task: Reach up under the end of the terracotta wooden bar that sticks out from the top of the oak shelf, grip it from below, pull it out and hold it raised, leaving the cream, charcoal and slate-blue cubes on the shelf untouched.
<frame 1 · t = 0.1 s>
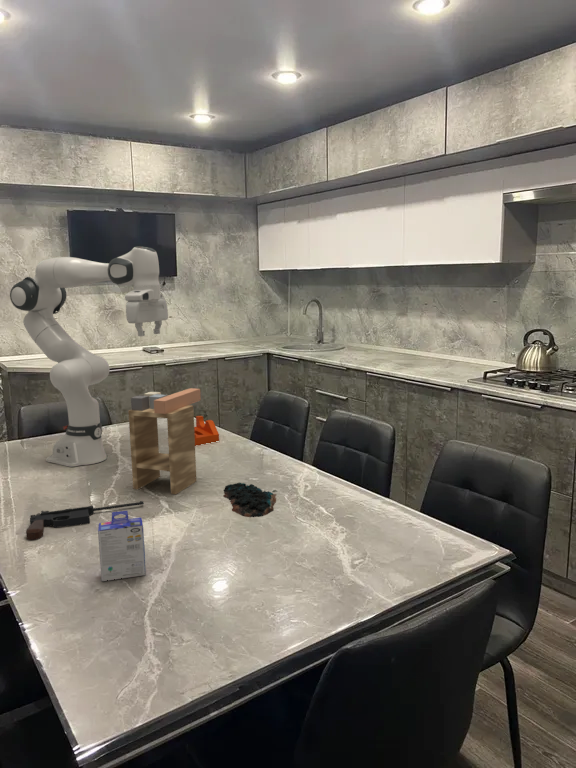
hand: (149, 335, 206), 48 cm above the table, tool pointing down, fingers open, 8 cm apart
slate cube: (158, 407, 191), point 26 cm above the table, touching oak shelf
ink cartridge box: (124, 574, 136), on the table
mineral specimen: (254, 501, 182), on the table
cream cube: (153, 404, 196), point 26 cm above the table, touching oak shelf
firearm: (89, 523, 167), on the table
terracotta bar: (178, 406, 193), point 26 cm above the table, touching oak shelf
charcoal cube: (140, 409, 190), point 26 cm above the table, touching oak shelf
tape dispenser: (196, 440, 252), on the table
oak shelf: (165, 485, 195), on the table
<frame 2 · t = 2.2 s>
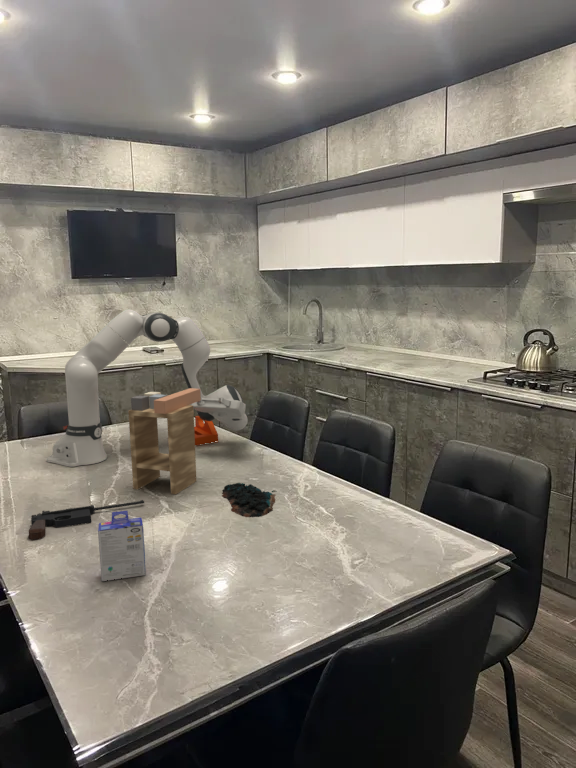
hand: (208, 399, 215), 24 cm above the table, tool pointing upward, fingers open, 8 cm apart
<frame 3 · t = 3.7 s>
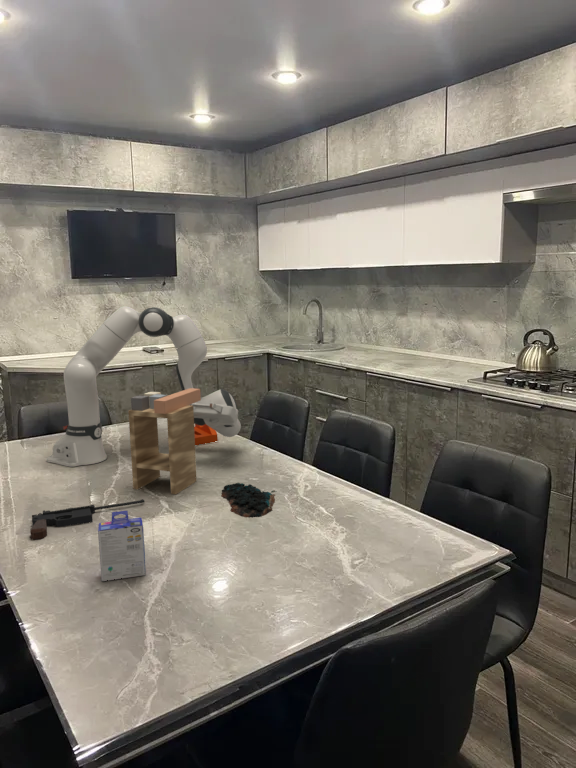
hand: (199, 404, 206), 24 cm above the table, tool pointing upward, fingers open, 8 cm apart
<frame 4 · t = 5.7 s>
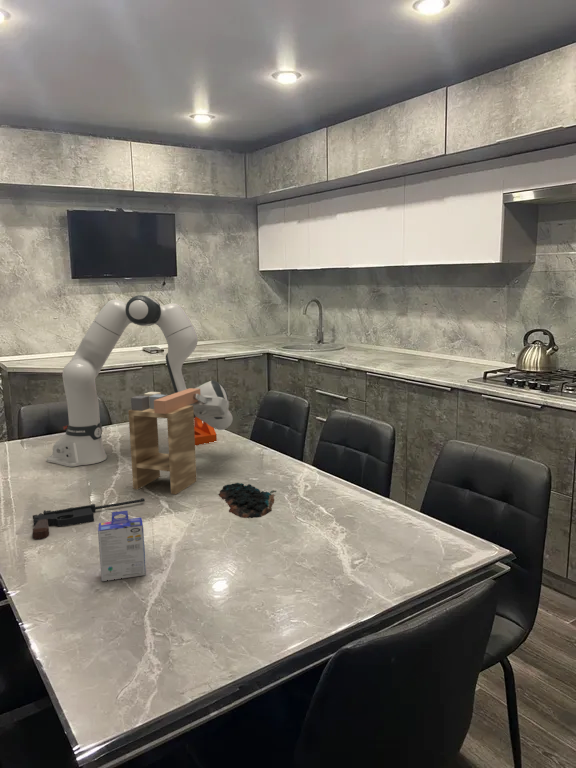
hand: (188, 395, 199), 28 cm above the table, tool pointing upward, fingers closed on terracotta bar, 4 cm apart
terracotta bar: (178, 406, 193), point 26 cm above the table, touching gripper, oak shelf
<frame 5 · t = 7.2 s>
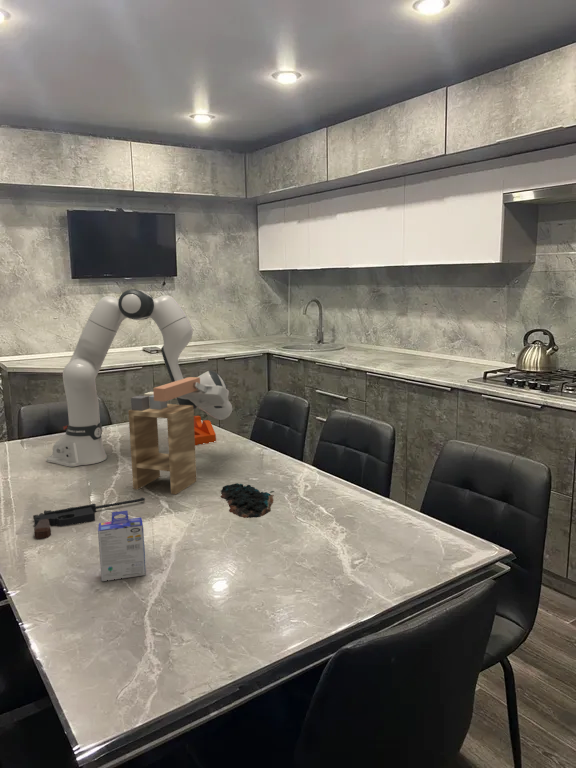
hand: (187, 384, 198), 32 cm above the table, tool pointing upward, fingers closed on terracotta bar, 4 cm apart
terracotta bar: (178, 394, 193), point 30 cm above the table, touching gripper
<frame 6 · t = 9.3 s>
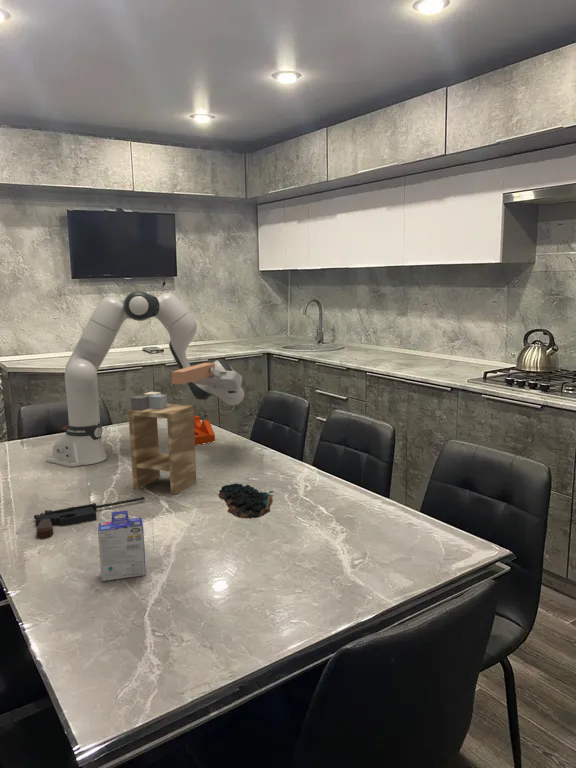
hand: (203, 369, 207), 36 cm above the table, tool pointing upward, fingers closed on terracotta bar, 4 cm apart
terracotta bar: (194, 378, 202), point 33 cm above the table, touching gripper
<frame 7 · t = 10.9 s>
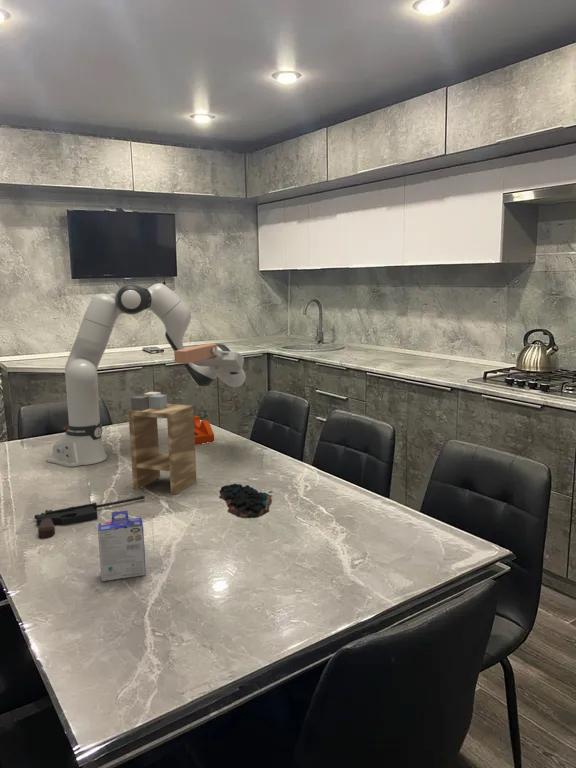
hand: (205, 349, 208), 42 cm above the table, tool pointing upward, fingers closed on terracotta bar, 4 cm apart
terracotta bar: (196, 359, 203), point 40 cm above the table, touching gripper
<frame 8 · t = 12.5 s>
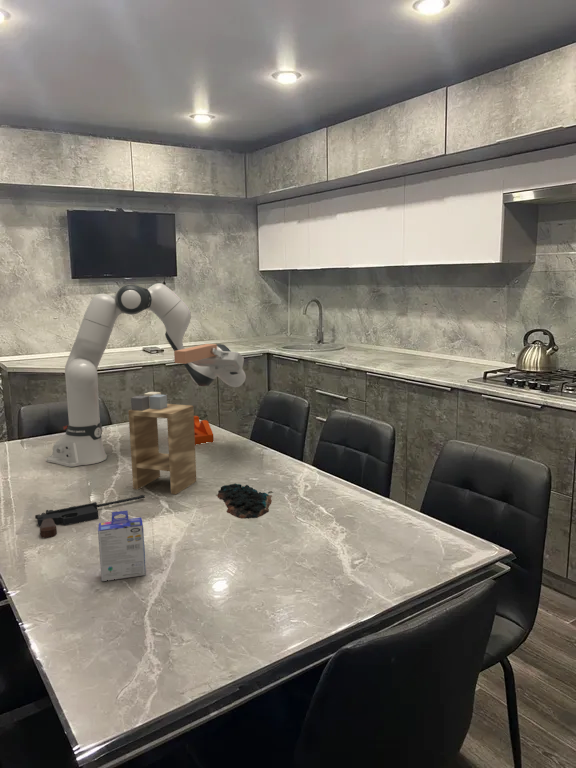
hand: (205, 349, 208), 42 cm above the table, tool pointing upward, fingers closed on terracotta bar, 4 cm apart
terracotta bar: (196, 359, 203), point 40 cm above the table, touching gripper
at the end: the gripper is holding terracotta bar; terracotta bar inside the target area (1.5 cm from its centre), point 39.9 cm above the table; slate cube moved 0.1 cm from its start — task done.
